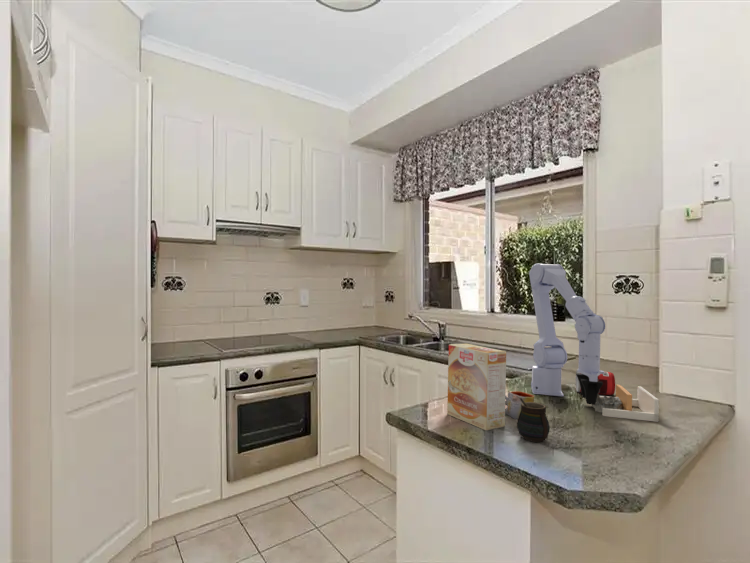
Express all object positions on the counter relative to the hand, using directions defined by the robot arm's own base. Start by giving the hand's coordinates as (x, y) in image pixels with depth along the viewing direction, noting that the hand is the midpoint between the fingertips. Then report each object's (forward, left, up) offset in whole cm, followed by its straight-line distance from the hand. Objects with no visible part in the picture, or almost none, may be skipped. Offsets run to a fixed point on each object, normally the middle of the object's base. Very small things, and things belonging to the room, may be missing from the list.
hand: (588, 400), depth 126 cm
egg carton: (+5, 0, -2) cm, 5 cm away
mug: (-22, -17, -2) cm, 28 cm away
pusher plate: (+9, 0, -2) cm, 10 cm away
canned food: (+11, +19, +2) cm, 22 cm away
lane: (+9, 0, -2) cm, 9 cm away
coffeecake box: (-32, -25, -2) cm, 40 cm away
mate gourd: (-18, -34, -2) cm, 38 cm away
